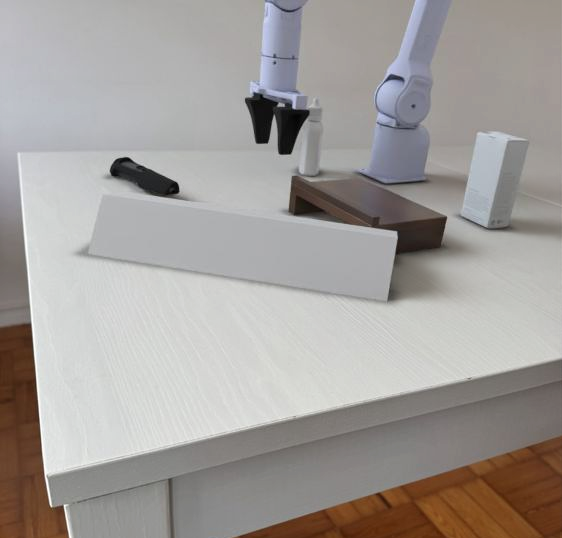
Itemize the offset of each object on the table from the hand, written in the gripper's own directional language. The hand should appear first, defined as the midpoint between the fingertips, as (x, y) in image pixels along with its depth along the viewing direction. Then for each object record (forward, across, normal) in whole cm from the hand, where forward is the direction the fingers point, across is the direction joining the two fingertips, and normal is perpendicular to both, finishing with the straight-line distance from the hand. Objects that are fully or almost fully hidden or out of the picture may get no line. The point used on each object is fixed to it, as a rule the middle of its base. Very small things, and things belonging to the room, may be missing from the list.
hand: (273, 148), depth 98 cm
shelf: (+4, +27, -2) cm, 27 cm away
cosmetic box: (+4, +30, +18) cm, 36 cm away
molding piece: (+5, +30, -20) cm, 36 cm away
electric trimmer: (+4, +2, -22) cm, 23 cm away
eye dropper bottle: (+4, 0, +8) cm, 9 cm away
